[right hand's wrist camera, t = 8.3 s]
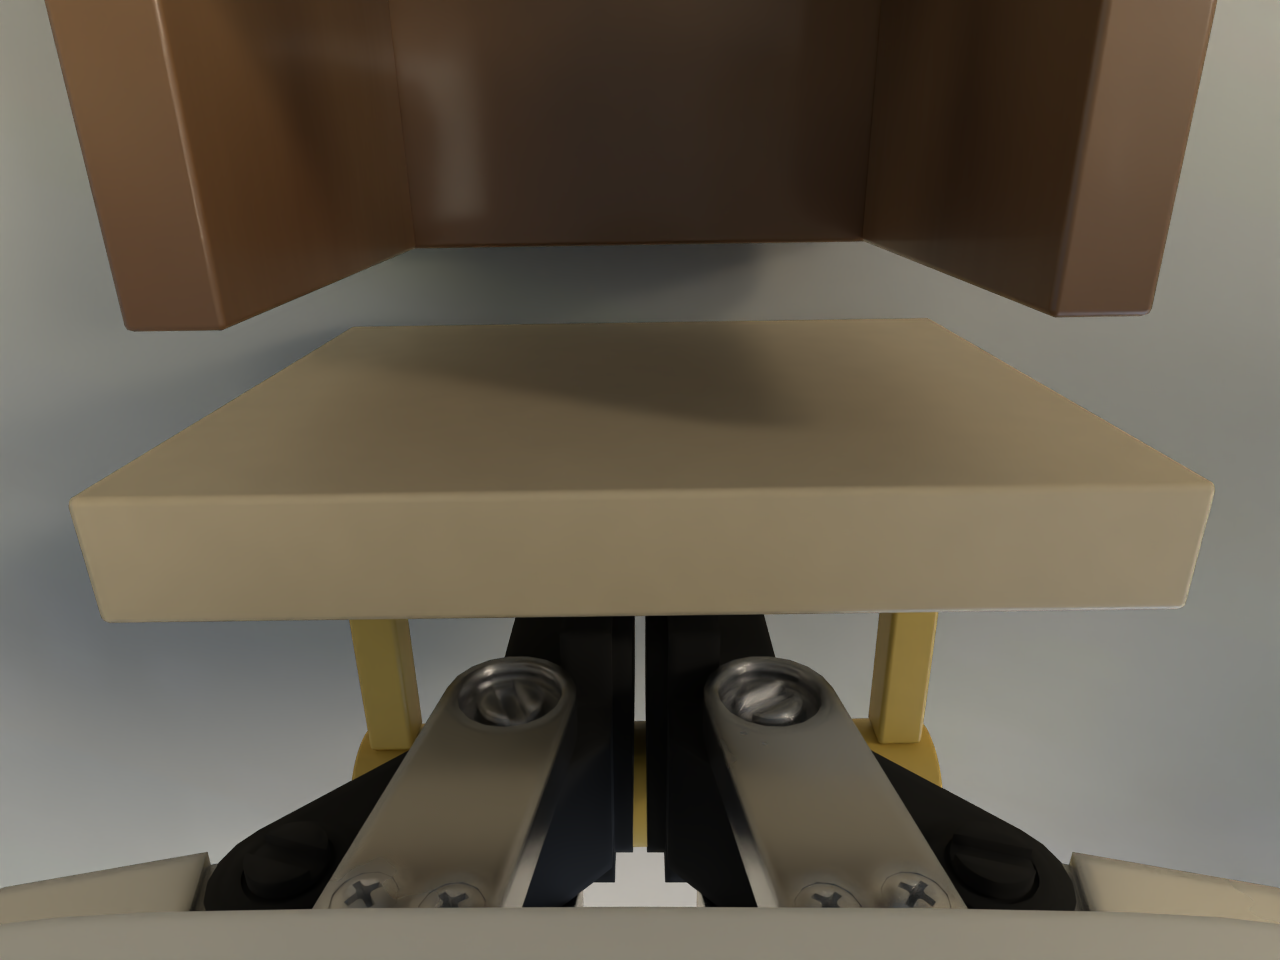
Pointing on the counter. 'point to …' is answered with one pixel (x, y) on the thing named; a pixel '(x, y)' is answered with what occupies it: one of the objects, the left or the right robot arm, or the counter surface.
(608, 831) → the right robot arm
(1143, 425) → the counter surface
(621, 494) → the drawer
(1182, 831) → the counter surface
